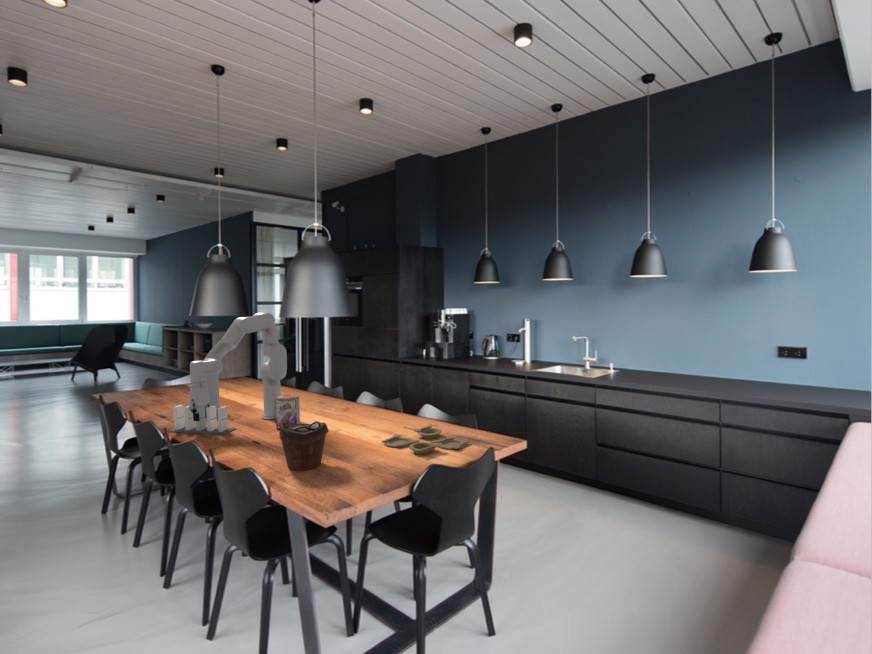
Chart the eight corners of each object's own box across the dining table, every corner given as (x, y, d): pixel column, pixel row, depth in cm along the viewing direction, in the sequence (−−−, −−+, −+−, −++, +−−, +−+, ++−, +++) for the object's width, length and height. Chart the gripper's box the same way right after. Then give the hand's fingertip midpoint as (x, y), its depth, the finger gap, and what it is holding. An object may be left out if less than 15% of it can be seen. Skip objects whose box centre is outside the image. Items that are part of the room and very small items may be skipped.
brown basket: (339, 463, 200) (337, 419, 199) (296, 477, 185) (293, 430, 184) (314, 455, 212) (311, 413, 211) (271, 468, 197) (268, 423, 196)
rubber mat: (236, 429, 257) (236, 428, 257) (224, 434, 248) (224, 433, 248) (181, 426, 265) (181, 425, 265) (167, 431, 255) (167, 431, 255)
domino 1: (184, 427, 261) (183, 404, 260) (177, 429, 256) (176, 407, 256) (181, 427, 262) (180, 404, 261) (174, 429, 257) (173, 406, 256)
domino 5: (228, 429, 255) (227, 406, 255) (222, 431, 251) (220, 408, 250) (224, 429, 256) (223, 406, 255) (218, 431, 251) (217, 408, 250)
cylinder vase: (214, 413, 294) (212, 371, 293) (193, 413, 295) (191, 372, 293) (223, 408, 307) (221, 368, 305) (203, 409, 307) (201, 369, 306)
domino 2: (195, 427, 260) (194, 405, 259) (188, 430, 255) (187, 407, 254) (192, 427, 260) (190, 405, 259) (185, 430, 255) (184, 407, 255)
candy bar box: (276, 429, 254) (274, 398, 253) (280, 427, 259) (278, 396, 258) (297, 429, 253) (295, 398, 252) (300, 427, 258) (299, 396, 257)
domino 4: (217, 428, 257) (216, 405, 256) (210, 431, 252) (209, 408, 251) (213, 428, 257) (212, 405, 257) (207, 431, 252) (206, 408, 252)
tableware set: (376, 443, 228) (376, 434, 227) (426, 431, 246) (426, 423, 246) (424, 461, 201) (424, 452, 201) (475, 446, 220) (475, 437, 219)
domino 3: (206, 428, 258) (205, 405, 258) (199, 430, 254) (198, 407, 253) (202, 428, 259) (201, 405, 258) (196, 430, 254) (195, 407, 253)
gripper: (203, 381, 264) (205, 415, 265) (180, 387, 247) (182, 423, 248) (216, 381, 262) (217, 415, 263) (193, 387, 246) (195, 423, 247)
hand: (200, 419), depth 256 cm, fingers open, 5 cm apart
